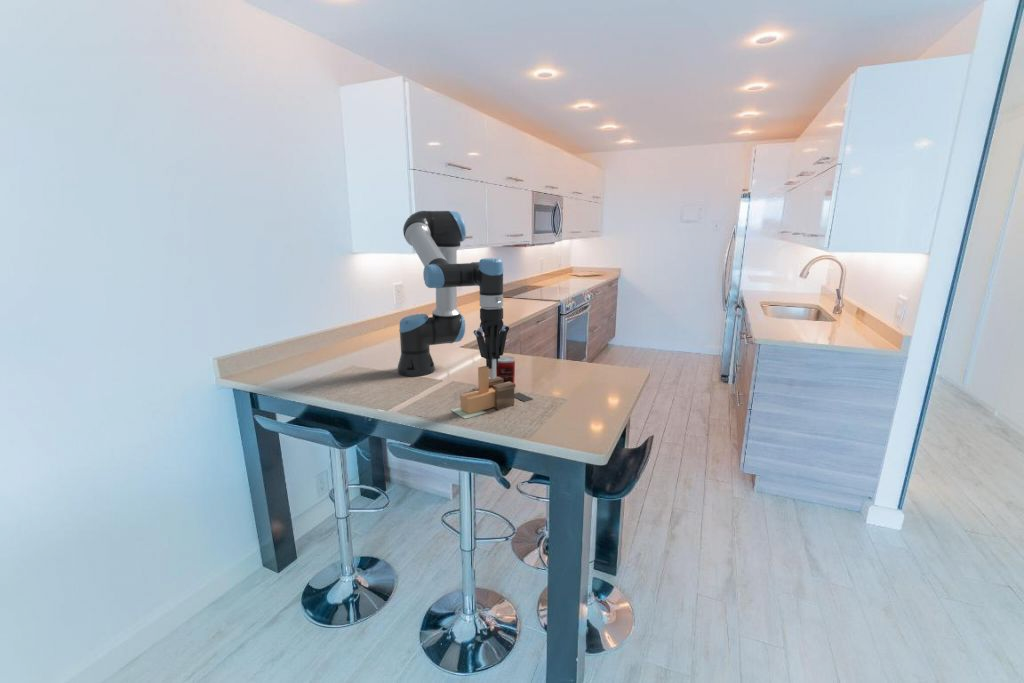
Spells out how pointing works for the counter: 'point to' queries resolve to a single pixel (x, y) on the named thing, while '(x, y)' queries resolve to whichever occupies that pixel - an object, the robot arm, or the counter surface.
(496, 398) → the dark brown box
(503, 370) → the canned food
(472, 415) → the pad
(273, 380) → the counter surface
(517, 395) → the pit patch
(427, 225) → the robot arm
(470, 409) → the tan inverted t block
